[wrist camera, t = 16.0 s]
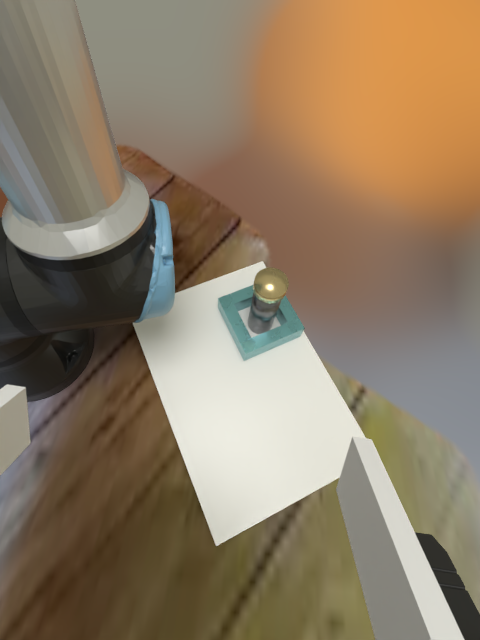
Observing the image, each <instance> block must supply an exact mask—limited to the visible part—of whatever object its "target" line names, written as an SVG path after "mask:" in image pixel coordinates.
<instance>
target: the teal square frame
mask: <svg viewBox="0 0 480 640" xmlns="http://www.w3.org/2000/svg"><path fill="white" fill-rule="evenodd" d="M253 292H254V291H253V285H251V286H249V287H246V288H243V289H241V290H238V291H235V292H233V293H230V294H228V295H225V296H222V297H220V298H218V309H219V311H220V313H221V315H222V318H223V320H224V322H225V324H226V326H227V328H228V330H229V332H230V334H231V336H232V338H233V340H234V342H235V344H236V346H237V348H238V350H239V352H240V354H241V356H242V358H243V360H244V361H245V360H248V359H250V358H252V357H254V356H257V355H259V354H261V353H264V352H266V351H268V350H271V349H273V348H275V347H278V346H280V345H282V344H284V343H287V342H289V341H291V340H294V339H296V338H298V337H300V336H301V334H302V332H303V331H304V329H305V328H304V326H303V325H302V323H301V321H300V319H299V318H298V316H297V314H296V313H295V311H294V309H293V308H292V306H291V304H290V303H289V301H288V299H287V298H286V296H284V298H283V299H282V300H281V303H280V306H279V308H278V311H277V314H276V318H277V319H278V321H279V323H280V325H281V326H279V327H276V328H274V329H272V330H269V331H267V332H264V333H262V334H260V335H257V336H255V337H252V338H251V336H250V334H249V332H248V330H247V328H246V326H245V324H244V322H243V321H242V319H241V317H240V315H239V313H238V311H240V310H243V309H245V308H248V307H250V306H251V302H252V297H253Z"/></svg>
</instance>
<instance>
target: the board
mask: <svg viewBox="0 0 480 640" xmlns="http://www.w3.org/2000/svg"><path fill="white" fill-rule="evenodd" d="M264 268H266V266H265V264H264V263H263V261H262V262H259V263H257V264H254V265H251V266H248V267H246V268H243V269H240V270H238V271H235V272H232V273H229V274H227V275H224V276H221V277H218V278H216V279H213V280H210V281H207V282H205V283H202V284H199V285H196V286H194V287H191V288H188V289H185V290H183V291H180V292H177V293H175V299H174V305H173V307H172V309H171V310H170V311H169V312H168V313H167V314H165V315H163V316H160V317H155V318H150V319H145V320H143V321H141V322H139V323H134V322H133V326H134V328H135V331H136V334H137V336H138V339H139V342H140V344H141V347H142V350H143V352H144V355H145V358H146V360H147V363H148V366H149V368H150V371H151V374H152V376H153V379H154V382H155V384H156V387H157V390H158V392H159V395H160V398H161V400H162V403H163V406H164V408H165V411H166V414H167V416H168V419H169V422H170V424H171V427H172V430H173V432H174V435H175V438H176V440H177V443H178V446H179V448H180V451H181V454H182V456H183V459H184V462H185V464H186V467H187V470H188V472H189V475H190V478H191V480H192V483H193V486H194V488H195V491H196V494H197V496H198V499H199V502H200V504H201V507H202V510H203V512H204V515H205V518H206V520H207V523H208V526H209V528H210V531H211V534H212V536H213V539H214V542H215V544H216V546H218V545H219V544H221V543H223V542H225V541H227V540H228V539H230V538H232V537H234V536H236V535H237V534H239V533H241V532H243V531H244V530H246V529H248V528H250V527H252V526H253V525H255V524H257V523H259V522H261V521H262V520H264V519H266V518H268V517H270V516H271V515H273V514H275V513H277V512H278V511H280V510H282V509H284V508H286V507H287V506H289V505H291V504H293V503H295V502H296V501H298V500H300V499H302V498H303V497H305V496H307V495H309V494H311V493H312V492H314V491H316V490H318V489H320V488H321V487H323V486H325V485H327V484H329V483H330V482H332V481H334V480H336V479H337V478H339V477H340V475H341V472H342V469H343V465H344V462H345V459H346V455H347V452H348V449H349V446H350V442H351V439H352V436H353V437H360V438H366V437H365V436H364V434H363V432H362V431H361V429H360V427H359V425H358V424H357V422H356V420H355V419H354V417H353V415H352V413H351V412H350V410H349V408H348V407H347V405H346V403H345V401H344V400H343V398H342V396H341V395H340V393H339V391H338V389H337V388H336V386H335V384H334V383H333V381H332V379H331V377H330V376H329V374H328V372H327V371H326V369H325V367H324V366H323V364H322V362H321V360H320V359H319V357H318V355H317V354H316V352H315V350H314V348H313V347H312V345H311V343H310V342H309V340H308V338H307V336H306V335H305V333H304V331H303V332H302V334H301V336H300V337H298V338H296V339H294V340H291V341H289V342H287V343H284V344H282V345H280V346H278V347H275V348H273V349H271V350H268V351H266V352H264V353H261V354H259V355H257V356H254V357H252V358H250V359H248V360H245V361H244V360H243V358H242V356H241V354H240V352H239V350H238V348H237V346H236V344H235V342H234V340H233V338H232V336H231V334H230V332H229V330H228V328H227V326H226V324H225V322H224V320H223V318H222V315H221V313H220V311H219V309H218V298H220V297H222V296H225V295H228V294H230V293H233V292H235V291H238V290H241V289H243V288H246V287H249V286H251V285H253V284H254V279H255V276H256V274H257V273H258V272H259V271H260V270H262V269H264ZM250 307H251V306H250ZM250 307H248V308H245V309H243V310H240V311H238V313H239V315H240V317H241V319H242V321H243V322H244V324H245V326H246V328H247V330H248V332H249V334H250V336H251V338H252V337H255V336H257V335H260V334H256V333H253V332H252V331H251V330H250V329H249V327H248V317H249V312H250ZM279 326H281V325H280V323H279V321H278V319H277V318H276V316H275V319H274V322H273V324H272V327H271V329H270V330H272V329H274V328H276V327H279Z"/></svg>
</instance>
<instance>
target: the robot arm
mask: <svg viewBox="0 0 480 640" xmlns="http://www.w3.org/2000/svg"><path fill="white" fill-rule="evenodd" d="M0 187H1V189H2V190H3V192H4V193H5V195H6V197H7V198H8V202H7V204H6V206H5V208H4V211H3V214H2V217H0V475H1V474H2V473H3V472H4V471H5V470H6V469H7V468H8V467H9V466H10V465H11V464H12V463H13V462H14V460H15V459H16V458H17V457H18V456H19V455H20V454H21V453H22V452H23V451H24V450H25V449H26V448H27V447H28V446H29V444H30V431H29V419H28V407H27V401H35V400H40V399H43V398H46V397H49V396H52V395H54V394H56V393H58V392H59V391H61V390H63V389H64V388H66V387H67V386H68V385H70V384H71V383H72V382H73V381H74V380H75V379H76V378H77V377H78V376H79V375H80V374H81V372H82V371H83V370H84V368H85V367H86V365H87V363H88V361H89V359H90V357H91V354H92V350H93V345H94V333H93V328H97V327H104V326H111V325H119V324H126V323H133V322H134V323H139V322H141V321H143V320H145V319H150V318H155V317H160V316H163V315H165V314H167V313H168V312H169V311H170V310H171V309H172V307H173V305H174V299H175V275H174V263H173V243H172V232H171V224H170V216H169V211H168V207H167V205H166V204H165V203H164V202H162V201H157V200H155V199H151V200H150V199H149V195H148V192H147V190H146V188H145V186H144V184H143V183H142V182H141V181H140V180H139V179H138V178H137V177H136V176H135V175H133V174H132V173H130V172H128V171H126V170H124V169H122V165H121V162H120V158H119V155H118V151H117V147H116V144H115V140H114V137H113V133H112V130H111V126H110V123H109V119H108V116H107V112H106V108H105V105H104V101H103V98H102V94H101V91H100V87H99V84H98V80H97V77H96V73H95V70H94V66H93V62H92V59H91V55H90V52H89V48H88V45H87V41H86V38H85V34H84V30H83V27H82V23H81V20H80V16H79V13H78V9H77V6H76V2H75V0H0ZM336 491H337V495H338V498H339V502H340V506H341V510H342V514H343V518H344V521H345V525H346V529H347V533H348V537H349V540H350V544H351V548H352V552H353V556H354V559H355V563H356V567H357V571H358V575H359V578H360V582H361V586H362V590H363V594H364V598H365V601H366V605H367V609H368V613H369V617H370V620H371V624H372V628H373V632H374V636H375V639H376V640H480V614H479V612H478V610H477V608H476V607H475V605H474V603H473V601H472V599H471V597H470V595H469V593H468V591H466V590H465V586H464V584H463V582H462V580H461V578H460V576H459V575H458V574H457V572H456V569H455V567H454V565H453V563H452V561H451V559H450V557H449V556H448V554H447V552H446V551H445V550H444V548H443V547H442V546H441V545H440V544H439V543H438V542H437V541H436V539H435V538H434V537H433V536H432V535H429V534H422V533H416V532H414V530H413V528H412V526H411V524H410V521H409V519H408V517H407V515H406V513H405V511H404V508H403V506H402V504H401V502H400V500H399V498H398V495H397V493H396V491H395V489H394V487H393V485H392V483H391V480H390V478H389V476H388V474H387V472H386V470H385V467H384V465H383V463H382V461H381V459H380V457H379V455H378V452H377V450H376V448H375V446H374V444H373V442H372V439H366V438H360V437H353V436H352V439H351V442H350V446H349V449H348V452H347V455H346V459H345V462H344V465H343V469H342V472H341V475H340V479H339V482H338V485H337V488H336Z"/></svg>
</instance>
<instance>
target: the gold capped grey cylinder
mask: <svg viewBox="0 0 480 640" xmlns="http://www.w3.org/2000/svg"><path fill="white" fill-rule="evenodd" d="M288 285H289V282H288V278H287V276H286V275H285V274H284V273H283V272H282V271H280V270H279V269H276V268H264V269H262V270H260V271H259V272H258V273H257V274H256V276H255V279H254V284H253V291H254V292H253V297H252V302H251V307H250V312H249V317H248V327H249V329H250V330H251V331H252V332H253V333H256V334H262V333H264V332H267V331H269V330H270V329H271V327H272V324H273V322H274V319H275V316H276V314H277V311H278V308H279V306H280V303H281V300H282V299H283V298H284V296H285V294H286V291H287V289H288Z"/></svg>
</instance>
